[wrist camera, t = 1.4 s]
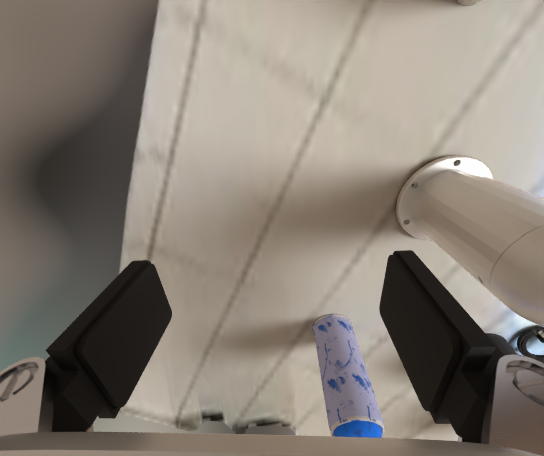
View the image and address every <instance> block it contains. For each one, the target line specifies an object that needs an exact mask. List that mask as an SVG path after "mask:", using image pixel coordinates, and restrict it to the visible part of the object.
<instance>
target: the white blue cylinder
mask: <svg viewBox="0 0 544 456" xmlns="http://www.w3.org/2000/svg"><path fill="white" fill-rule="evenodd" d="M313 333H314V335H315V341H316V348H317V354H318V360H319V367H320V373H321V379H322V386H323V392H324V398H325V405H326V411H327V417H328V424H329V428H330V431H331V435H332V437H368V438H382V435H383V434H384V426H383V419H382V416H381V413H380V410H379V407H378V404H377V401H376V398H375V395H374V392H373V389H372V386H371V383H370V380H369V377H368V374H367V371H366V368H365V364H364V361H363V358H362V355H361V352H360V349H359V346H358V343H357V340H356V337H355V334H354V331H353V326H352V323H351V321H350V319H348V318H347V317H346V316H343V315H340V314H329V315H325V316H322V317H320V318H319V319H318V320H316V322H315V323H314V324H313Z"/></svg>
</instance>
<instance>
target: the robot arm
mask: <svg viewBox="0 0 544 456" xmlns="http://www.w3.org/2000/svg"><path fill="white" fill-rule="evenodd" d="M396 215H397V219H398V221H399V223H400V225H401V227H402V228H403V229H404V230H405V231H406V232H407V233H409V234H410V235H411V236H413V237H415V238H417V239H421V240H427V241H434V242H435V243H436V244H437V245H438V246H440V247H441V248H442V249H443V250H444V251H445V252H446V253H447V254H449V255H450V256H451V257H452V258H453V259H454V260H455V261H456V262H457V263H459V264H460V265H461V266H462V267H463V268H464V269H465V270H466V271H468V272H469V273H470V274H471V275H472V276H473V277H474V278H475V279H477V280H478V281H479V282H480V283H481V284H482V285H483V286H484V287H486V288H487V289H488V290H489V291H490V292H491V293H492V294H493V295H494V296H496V297H497V298H498V299H499V300H500V301H502V302H503V303H504V304H505V305H506V306H507V307H508V308H510V309H511V310H512V311H514V312H515V313H517V314H518V315H520V316H521V317H523V318H525V319H527V320H529V321H531V322H533V323H536V324H539V325H542V326H544V198H543V197H540V196H538V195H535V194H532V193H529V192H527V191H524V190H521V189H518V188H515V187H513V186H510V185H507V184H504V183H501V182H499V181H496V180H494V178H493V175H492V172H491V171H490V169H489V168H488V166H486V165H485V164H484V163H483V162H481V161H479V160H477V159H475V158H471V157H468V156H460V155H454V156H446V157H443V158H439V159H436V160H434V161H432V162H430V163H428V164H426V165H425V166H423V167H422V168H420V169H419V170H418V171H416V172H415V173H414V174H413V175H412V176H411V177H410V178H409V179H408V181H407V182H406V183H405V185H404V186H403V188H402V189H401V191H400V194H399V196H398V199H397V204H396ZM380 315H381V317H382V319H383V322H384V324H385V326H386V328H387V330H388V333H389V335H390V337H391V339H392V341H393V344H394V346H395V348H396V350H397V352H398V355H399V357H400V359H401V361H402V363H403V366H404V368H405V370H406V372H407V374H408V377H409V379H410V381H411V383H412V385H413V388H414V390H415V392H416V394H417V396H418V399H419V401H420V403H421V405H422V407H423V408H424V410H426V411H430V413H431V415H432V417H433V420H434V422H435V424H451V425H452V427H453V429H454V430H455V432H456V434H457V435H458V436H459V437H458V441H442V440H420V439H398V438H368V437H330V436H293V435H292V436H291V435H247V434H197V433H138V432H135V433H133V432H94V431H93V422H94V421H95V419H96V417H97V416H98V417H99V418H115V417H116V416H117V414H118V412H119V410H120V408H121V407H123V406H124V405H125V404H126V403H127V401H128V400H129V398H130V396H131V394H132V392H133V390H134V388H135V386H136V385H137V383H138V381H139V379H140V377H141V375H142V373H143V371H144V369H145V367H146V366H147V364H148V362H149V360H150V358H151V356H152V354H153V352H154V350H155V349H156V347H157V345H158V343H159V341H160V339H161V337H162V335H163V333H164V332H165V330H166V328H167V326H168V324H169V322H170V320H171V317H172V311H171V308H170V305H169V302H168V300H167V297H166V294H165V292H164V289H163V286H162V284H161V281H160V278H159V276H158V273H157V270H156V268H155V266H154V264H151V262H150V261H147V260H144V261H132V262H131V263H130V264H129V265H128V266H127V267H126V268H125V269H124V270H123V271H122V272H121V273H120V274H119V275H118V276H117V277H116V279H114V280H113V281H112V282H111V284H110V285H109V286H108V287H107V288H106V289H105V290H104V291H103V292H102V293H101V294H100V295H99V296H98V297H97V298H96V299H95V300H94V301H93V302H92V303H91V304H90V305H89V306H88V307H87V308H86V309H85V311H83V312H82V314H80V315H79V317H78V318H77V319H76V320H75V321H74V322H73V323H72V324H71V325H70V326H69V327H68V328H67V329H66V330H65V331H64V332H63V333H62V334H61V335H60V336H59V337H58V338H57V339H56V340H55V341H54V342H53V343H52V344H51V345H50V346H49V347H48V349H47V350H46V351H47V352H48V354H49V355H50V357H49V358H48V359H47V360H46V361H45V360H43V359H42V358H40V357H32V358H27V359H24V360H21V361H19V362H16V363H14V364H12V365H11V366H9V367H7V368H5V369H4V370H2V371H1V372H0V456H544V363H542V362H540V361H538V360H535V359H532V358H529V357H526V356H521V355H515V354H514V355H504V354H503V353H502V352H501V351H500V350H499V349H498V347H497V346H496V345H495V344H494V343H493V342H492V341H491V339H490V338H489V337H488V336H487V335H486V334H485V333H484V331H483V330H482V329H481V328H480V327H479V326H478V325H477V323H476V322H475V321H474V320H473V319H472V318H471V317H470V315H469V314H468V313H467V312H466V311H465V310H464V309H463V307H462V306H461V305H460V304H459V303H458V302H457V301H456V299H455V298H454V297H453V296H452V295H451V294H450V293H449V291H448V290H447V289H446V288H445V287H444V286H443V285H442V284H441V283H440V282H439V280H438V279H437V278H436V277H435V276H434V275H433V273H432V272H431V271H430V270H429V269H428V268H427V267H426V265H425V264H424V263H423V262H422V261H421V260H420V259H419V257H418V256H417V255H416V254H415V253H414V252H413V251H411V250H408V251H395V252H394V253H393V255H389V257H388V262H387V268H386V273H385V279H384V284H383V290H382V296H381V301H380Z"/></svg>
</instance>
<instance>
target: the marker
mask: <svg viewBox="0 0 544 456" xmlns="http://www.w3.org/2000/svg"><path fill="white" fill-rule="evenodd" d="M480 1H482V0H457V2H458V3H460V4H461V5H465V6H469V5H473V4H475V3H478V2H480Z"/></svg>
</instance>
